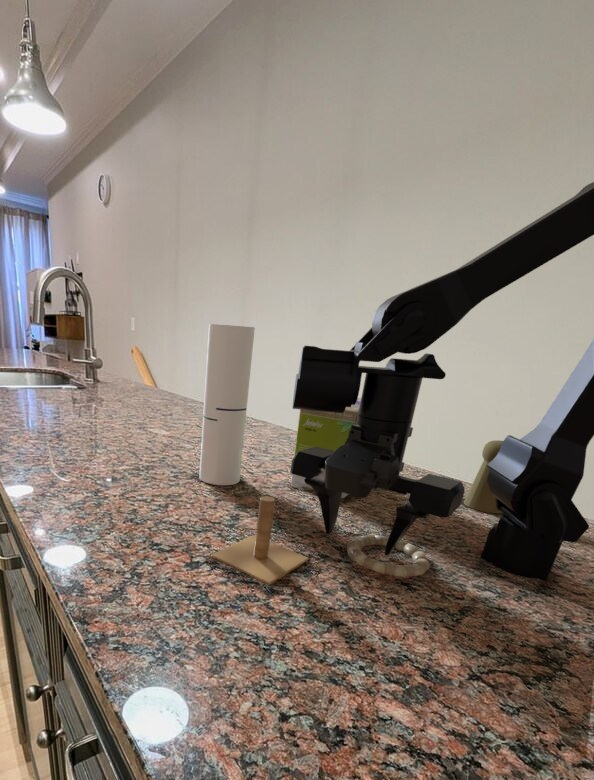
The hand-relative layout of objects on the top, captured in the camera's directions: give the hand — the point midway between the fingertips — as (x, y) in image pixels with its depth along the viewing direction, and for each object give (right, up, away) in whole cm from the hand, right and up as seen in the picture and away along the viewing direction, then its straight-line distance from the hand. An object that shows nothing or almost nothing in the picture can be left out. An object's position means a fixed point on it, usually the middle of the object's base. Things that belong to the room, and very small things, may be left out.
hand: (357, 543), depth 55 cm
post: (-13, -2, -4) cm, 14 cm away
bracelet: (+3, -1, -2) cm, 4 cm away
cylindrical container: (-17, +10, +23) cm, 30 cm away
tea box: (+4, +9, +24) cm, 26 cm away
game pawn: (+28, +5, +19) cm, 34 cm away
